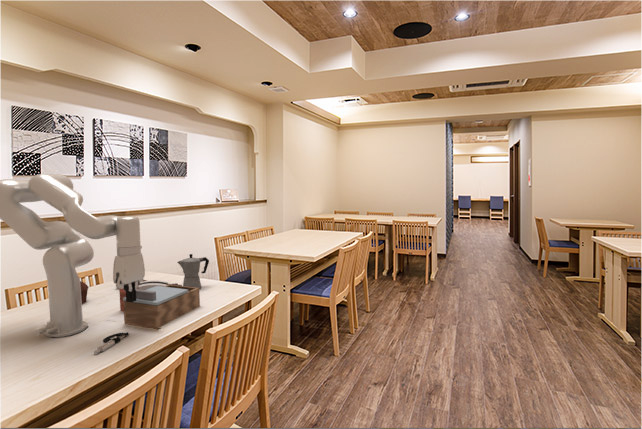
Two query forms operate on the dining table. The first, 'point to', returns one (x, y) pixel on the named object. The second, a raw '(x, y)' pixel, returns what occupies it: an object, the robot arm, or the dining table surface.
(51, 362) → the dining table surface
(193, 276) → the coffeepot
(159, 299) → the lid
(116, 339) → the micrometer
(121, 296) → the peg
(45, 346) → the dining table surface
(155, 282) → the white curved piece
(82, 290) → the muffin
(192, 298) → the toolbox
